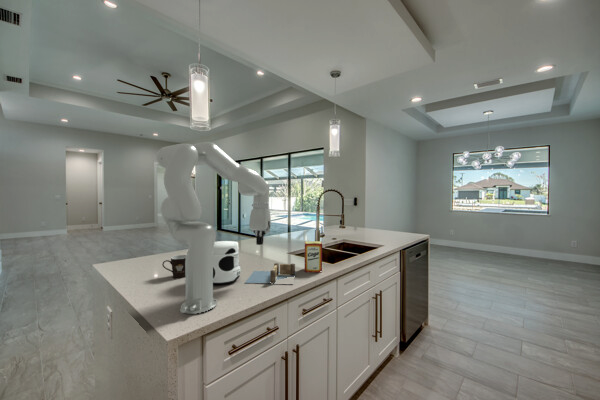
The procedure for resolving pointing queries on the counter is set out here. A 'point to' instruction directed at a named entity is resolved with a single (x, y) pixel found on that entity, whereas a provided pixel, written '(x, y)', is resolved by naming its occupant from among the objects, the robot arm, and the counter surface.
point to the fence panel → (273, 274)
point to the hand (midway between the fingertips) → (259, 244)
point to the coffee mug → (177, 266)
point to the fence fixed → (286, 269)
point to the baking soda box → (313, 256)
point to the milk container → (225, 262)
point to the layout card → (264, 277)
